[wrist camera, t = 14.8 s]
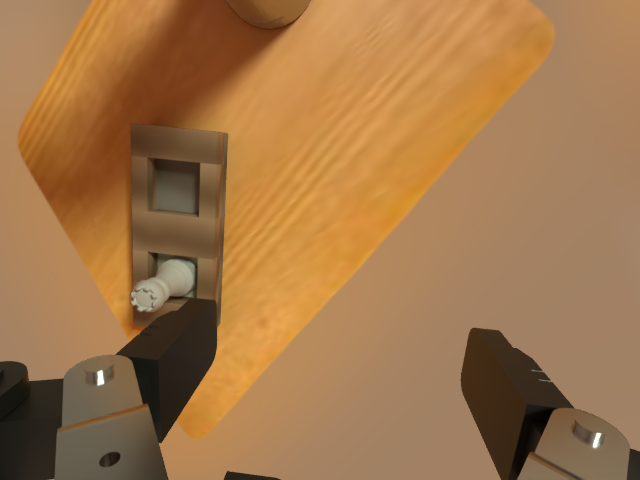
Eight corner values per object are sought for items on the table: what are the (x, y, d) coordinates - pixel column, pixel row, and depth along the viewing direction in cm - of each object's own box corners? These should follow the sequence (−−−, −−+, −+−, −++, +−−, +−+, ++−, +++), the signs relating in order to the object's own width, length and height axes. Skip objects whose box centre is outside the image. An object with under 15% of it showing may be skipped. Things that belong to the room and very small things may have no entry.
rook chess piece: (168, 295, 43) (127, 325, 35) (157, 258, 42) (113, 281, 34) (204, 289, 43) (171, 318, 35) (194, 251, 42) (158, 273, 34)
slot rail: (146, 125, 40) (130, 123, 37) (227, 133, 40) (217, 131, 37) (147, 313, 45) (133, 324, 42) (220, 323, 45) (210, 335, 42)
